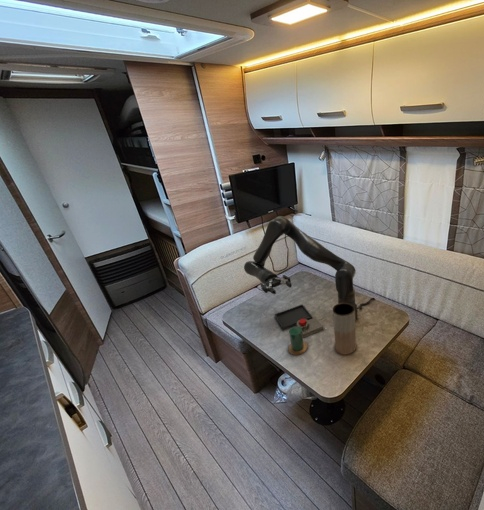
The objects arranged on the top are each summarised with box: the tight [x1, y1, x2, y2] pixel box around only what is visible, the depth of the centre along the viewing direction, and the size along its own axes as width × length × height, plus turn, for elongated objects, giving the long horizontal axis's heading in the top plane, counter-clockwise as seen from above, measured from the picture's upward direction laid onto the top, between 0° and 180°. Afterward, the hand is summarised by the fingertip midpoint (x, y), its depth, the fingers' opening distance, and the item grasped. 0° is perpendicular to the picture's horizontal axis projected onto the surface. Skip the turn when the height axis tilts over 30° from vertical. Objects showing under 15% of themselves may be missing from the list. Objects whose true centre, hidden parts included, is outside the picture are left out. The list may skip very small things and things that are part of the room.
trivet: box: [288, 340, 308, 356], centre depth 137 cm, size 9×9×1 cm
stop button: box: [299, 319, 306, 325], centre depth 148 cm, size 4×4×2 cm
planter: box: [332, 303, 357, 355], centre depth 131 cm, size 10×10×23 cm
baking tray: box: [274, 304, 313, 331], centre depth 159 cm, size 17×14×2 cm
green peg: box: [288, 326, 304, 351], centre depth 134 cm, size 6×6×10 cm
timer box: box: [296, 317, 324, 338], centre depth 149 cm, size 12×10×4 cm
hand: (283, 289), depth 135 cm, fingers open, 8 cm apart
